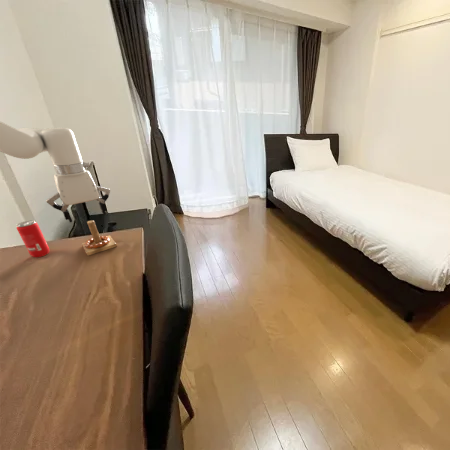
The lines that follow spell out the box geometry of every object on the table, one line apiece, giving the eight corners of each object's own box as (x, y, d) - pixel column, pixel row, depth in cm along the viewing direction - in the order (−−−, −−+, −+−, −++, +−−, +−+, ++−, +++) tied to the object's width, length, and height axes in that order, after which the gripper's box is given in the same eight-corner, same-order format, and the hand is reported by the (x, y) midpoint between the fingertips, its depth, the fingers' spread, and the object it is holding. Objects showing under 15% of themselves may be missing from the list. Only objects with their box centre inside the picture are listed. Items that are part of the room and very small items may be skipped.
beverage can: (27, 257, 94) (11, 225, 88) (43, 249, 98) (28, 219, 93) (38, 259, 92) (23, 227, 87) (54, 251, 97) (40, 221, 92)
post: (87, 255, 94) (77, 229, 90) (82, 246, 100) (72, 221, 96) (117, 246, 100) (108, 221, 96) (110, 237, 106) (102, 214, 101)
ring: (87, 251, 95) (86, 248, 94) (83, 243, 100) (82, 240, 99) (112, 243, 100) (111, 240, 99) (107, 236, 104) (106, 233, 104)
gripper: (99, 162, 95) (113, 207, 103) (33, 170, 84) (54, 220, 92) (104, 166, 90) (118, 213, 98) (35, 175, 79) (57, 228, 87)
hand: (87, 217), depth 95 cm, fingers open, 9 cm apart
